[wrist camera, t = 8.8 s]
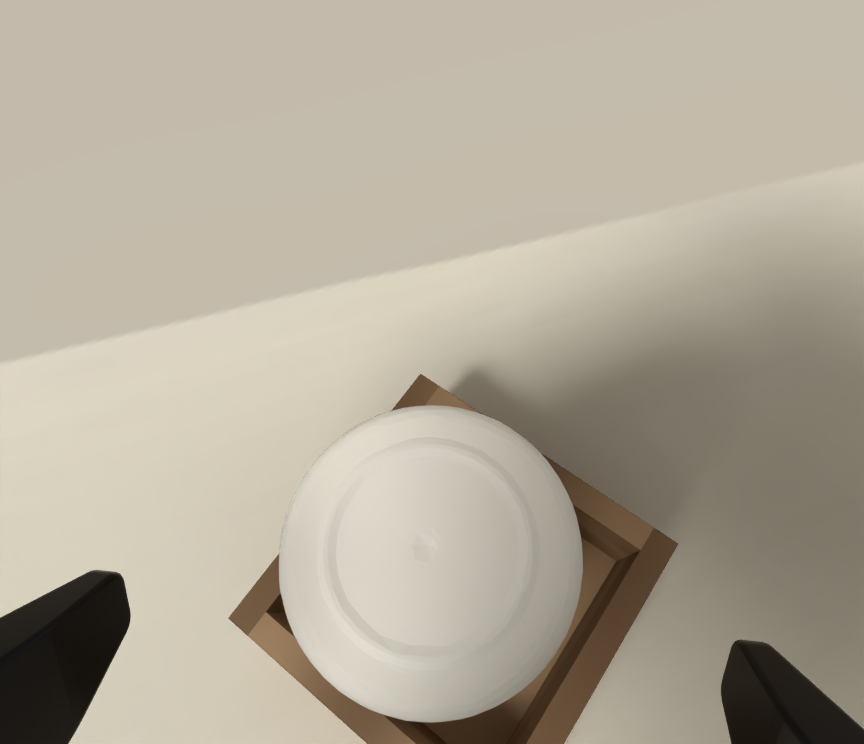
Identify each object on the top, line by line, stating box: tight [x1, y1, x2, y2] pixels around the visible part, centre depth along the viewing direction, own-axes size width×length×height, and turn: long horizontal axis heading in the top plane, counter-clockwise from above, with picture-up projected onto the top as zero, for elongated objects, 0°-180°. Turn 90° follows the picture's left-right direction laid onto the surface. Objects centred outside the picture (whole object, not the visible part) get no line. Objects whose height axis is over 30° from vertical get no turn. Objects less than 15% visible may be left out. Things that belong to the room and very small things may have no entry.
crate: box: [229, 374, 678, 744], centre depth 20 cm, size 10×10×4 cm
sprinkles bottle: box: [279, 405, 583, 722], centre depth 15 cm, size 5×5×14 cm
